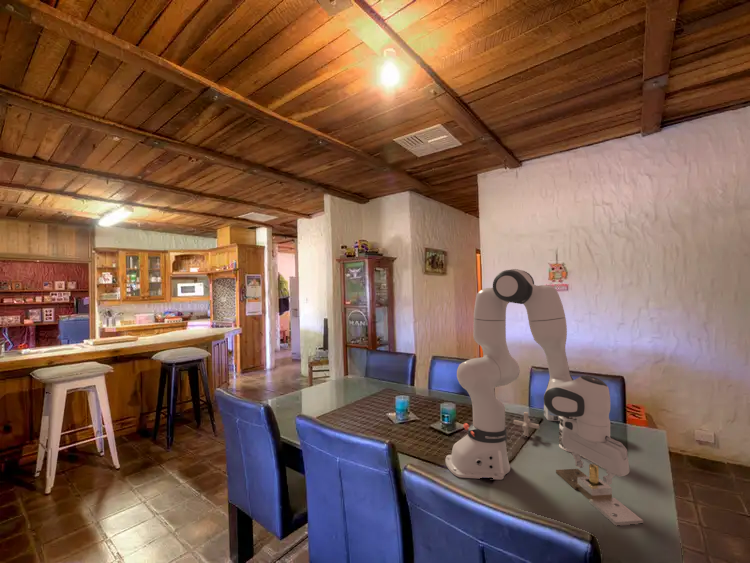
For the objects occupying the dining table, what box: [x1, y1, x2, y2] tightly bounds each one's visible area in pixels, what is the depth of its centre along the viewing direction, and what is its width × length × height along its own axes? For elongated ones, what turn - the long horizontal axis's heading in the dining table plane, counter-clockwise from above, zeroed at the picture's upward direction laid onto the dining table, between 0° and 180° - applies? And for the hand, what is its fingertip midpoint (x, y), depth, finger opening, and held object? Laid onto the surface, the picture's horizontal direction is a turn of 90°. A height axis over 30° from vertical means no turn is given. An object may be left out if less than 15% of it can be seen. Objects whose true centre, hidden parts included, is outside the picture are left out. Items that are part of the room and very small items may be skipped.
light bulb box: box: [543, 393, 560, 422], centre depth 168 cm, size 11×7×11 cm, turn 81°
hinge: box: [555, 468, 644, 527], centre depth 107 cm, size 26×8×4 cm, turn 5°
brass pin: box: [588, 463, 600, 486], centre depth 107 cm, size 2×2×9 cm
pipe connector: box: [513, 411, 540, 438], centre depth 149 cm, size 10×10×10 cm
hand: (592, 474), depth 107 cm, fingers open, 8 cm apart
